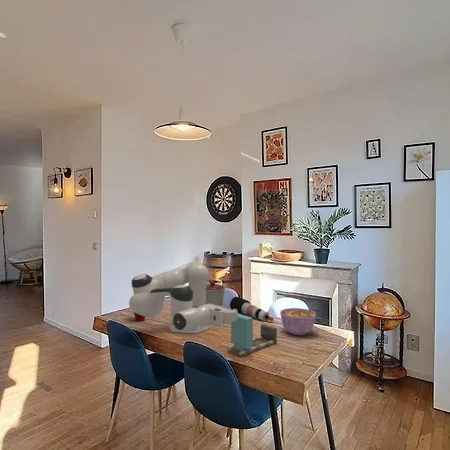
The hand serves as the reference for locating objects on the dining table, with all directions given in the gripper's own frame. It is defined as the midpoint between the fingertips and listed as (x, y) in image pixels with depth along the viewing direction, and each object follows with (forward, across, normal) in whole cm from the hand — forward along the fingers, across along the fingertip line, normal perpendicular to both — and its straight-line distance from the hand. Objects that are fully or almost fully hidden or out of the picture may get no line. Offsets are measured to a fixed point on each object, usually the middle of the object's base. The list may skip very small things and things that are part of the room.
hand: (230, 309), depth 158 cm
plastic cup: (-5, -80, -22) cm, 83 cm away
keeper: (+7, 0, -21) cm, 22 cm away
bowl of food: (+50, +2, -22) cm, 55 cm away
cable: (+54, -37, -22) cm, 69 cm away
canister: (+44, -66, -22) cm, 82 cm away
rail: (+15, 0, -22) cm, 27 cm away
